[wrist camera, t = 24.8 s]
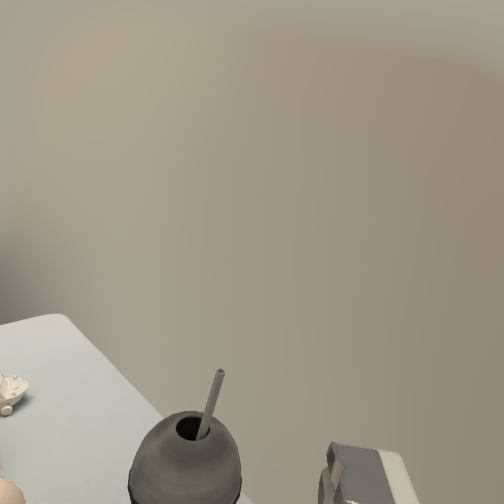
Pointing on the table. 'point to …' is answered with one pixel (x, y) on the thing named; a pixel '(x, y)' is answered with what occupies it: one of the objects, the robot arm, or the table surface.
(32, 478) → the table surface
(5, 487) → the egg
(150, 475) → the beverage cup
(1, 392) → the toy car
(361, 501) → the robot arm
